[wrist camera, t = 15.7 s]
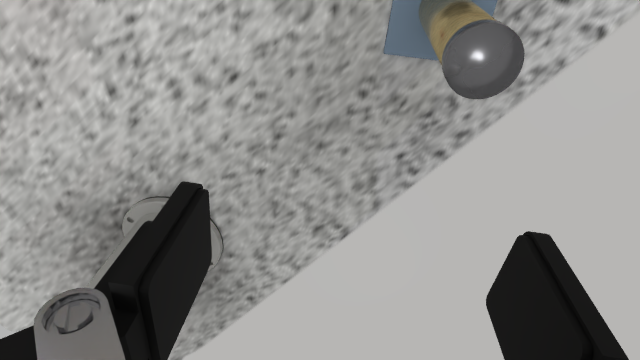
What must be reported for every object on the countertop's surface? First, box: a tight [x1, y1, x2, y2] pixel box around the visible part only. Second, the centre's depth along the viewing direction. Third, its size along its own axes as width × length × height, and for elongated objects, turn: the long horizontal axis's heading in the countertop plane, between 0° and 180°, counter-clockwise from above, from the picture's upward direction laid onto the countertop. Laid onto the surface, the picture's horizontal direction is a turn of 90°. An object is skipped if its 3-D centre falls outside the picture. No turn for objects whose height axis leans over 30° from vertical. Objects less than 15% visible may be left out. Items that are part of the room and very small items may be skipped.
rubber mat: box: [384, 0, 497, 60], centre depth 31 cm, size 8×8×1 cm
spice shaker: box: [419, 0, 524, 99], centre depth 25 cm, size 4×4×14 cm
